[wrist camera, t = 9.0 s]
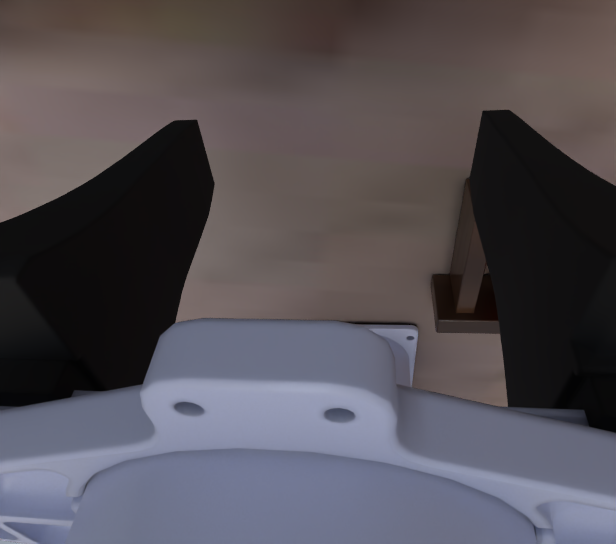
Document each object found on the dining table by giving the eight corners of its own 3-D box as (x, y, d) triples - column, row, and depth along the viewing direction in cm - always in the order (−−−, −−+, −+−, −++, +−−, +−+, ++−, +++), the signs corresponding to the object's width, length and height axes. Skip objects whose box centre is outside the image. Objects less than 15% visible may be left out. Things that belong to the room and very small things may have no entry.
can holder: (621, 288, 29) (643, 336, 26) (430, 287, 30) (435, 333, 28) (686, 172, 23) (723, 222, 20) (445, 178, 24) (453, 225, 22)
